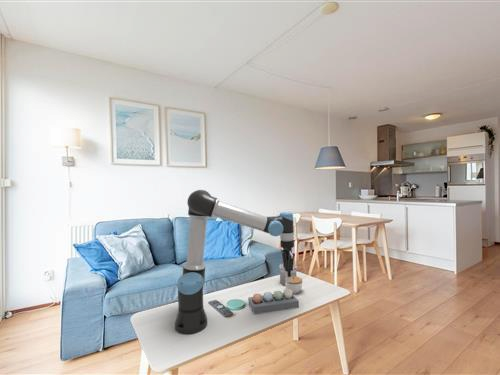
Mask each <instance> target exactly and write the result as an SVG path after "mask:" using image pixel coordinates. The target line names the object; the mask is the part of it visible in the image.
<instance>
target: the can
mask: <svg viewBox="0 0 500 375" xmlns="http://www.w3.org/2000/svg"><path fill="white" fill-rule="evenodd" d="M297 268H298V266H297V264H295V263H293V271H291V276H297ZM285 278H286V274H285V268H284V266H283V263H281V264H279V281H280V282H279V285H281V286H282V287H286V286H285Z"/></svg>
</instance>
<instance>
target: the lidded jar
mask: <svg viewBox="0 0 500 375" xmlns="http://www.w3.org/2000/svg"><path fill="white" fill-rule="evenodd" d="M302 278H303V277H300V276H297V275H296V276H291V282H289V283H286V278H285V286H284V287H285V288H286V289H285V290H287V289H289V290H292V294H293V295H296V294H298V293H299V292H300V291H301V290H302V288H303V279H302Z"/></svg>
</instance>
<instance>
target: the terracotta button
mask: <svg viewBox="0 0 500 375" xmlns="http://www.w3.org/2000/svg"><path fill="white" fill-rule="evenodd" d="M261 296H262V294H261V293H254V294H253V295H252V297H253V302H254V303H256V304H259V303H261Z"/></svg>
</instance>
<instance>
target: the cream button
mask: <svg viewBox="0 0 500 375" xmlns="http://www.w3.org/2000/svg"><path fill="white" fill-rule="evenodd" d="M283 293H284V298H286V299H292V290H289V289H284V290H283Z"/></svg>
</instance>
